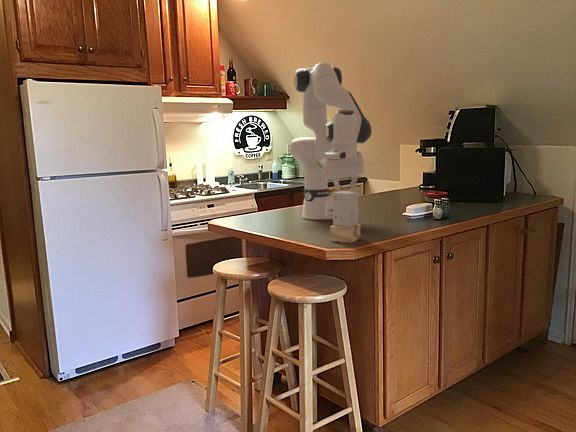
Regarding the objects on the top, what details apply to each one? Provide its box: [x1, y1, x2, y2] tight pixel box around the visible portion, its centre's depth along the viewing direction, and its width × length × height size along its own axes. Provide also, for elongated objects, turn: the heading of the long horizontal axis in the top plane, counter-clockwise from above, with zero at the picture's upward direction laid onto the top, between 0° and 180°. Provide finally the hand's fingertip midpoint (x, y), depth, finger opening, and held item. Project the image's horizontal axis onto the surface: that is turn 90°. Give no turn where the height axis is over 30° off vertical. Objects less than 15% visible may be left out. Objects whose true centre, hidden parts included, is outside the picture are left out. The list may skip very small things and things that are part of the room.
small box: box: [332, 190, 359, 227], centre depth 204 cm, size 8×6×13 cm
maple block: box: [329, 223, 361, 244], centre depth 206 cm, size 9×9×6 cm
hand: (345, 188), depth 203 cm, fingers open, 8 cm apart
